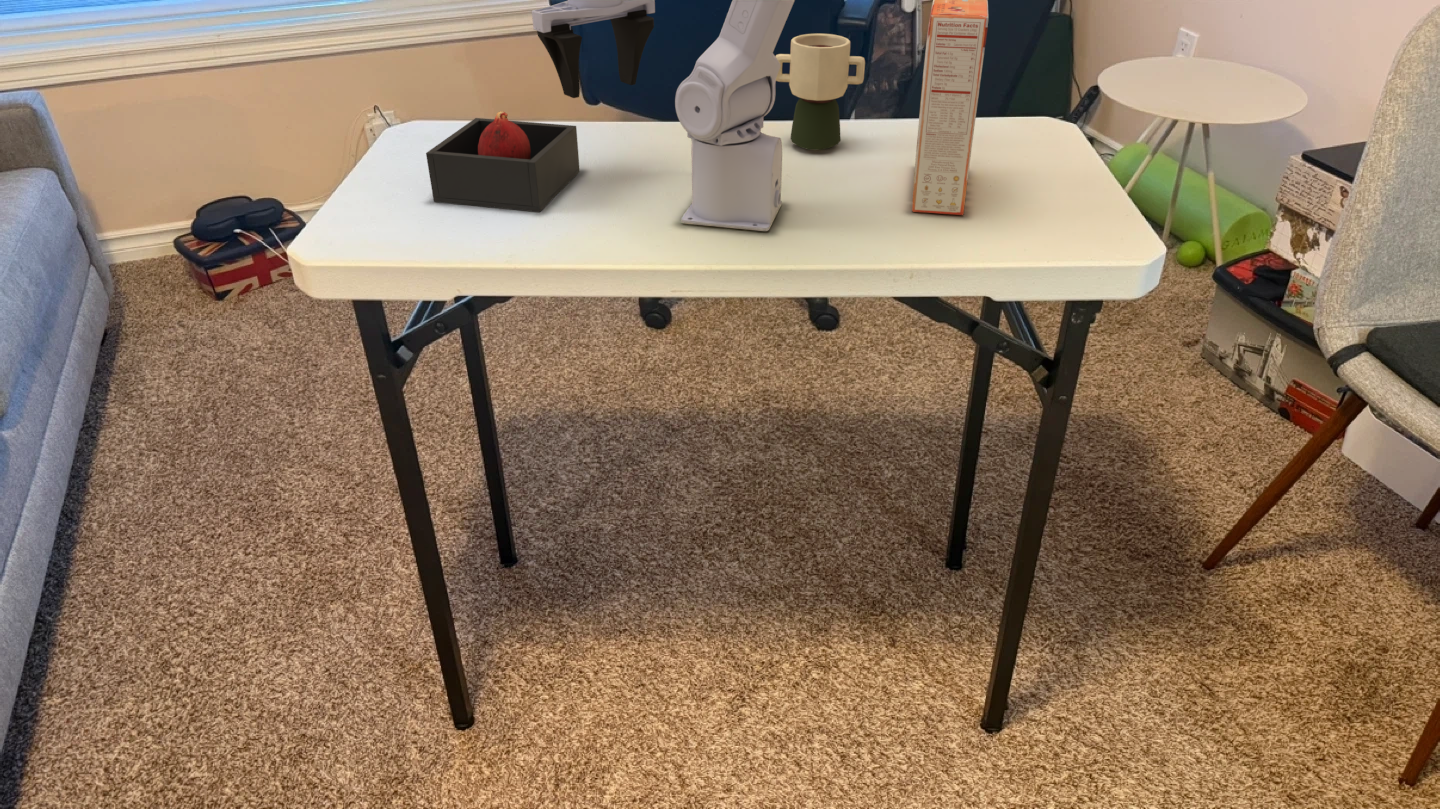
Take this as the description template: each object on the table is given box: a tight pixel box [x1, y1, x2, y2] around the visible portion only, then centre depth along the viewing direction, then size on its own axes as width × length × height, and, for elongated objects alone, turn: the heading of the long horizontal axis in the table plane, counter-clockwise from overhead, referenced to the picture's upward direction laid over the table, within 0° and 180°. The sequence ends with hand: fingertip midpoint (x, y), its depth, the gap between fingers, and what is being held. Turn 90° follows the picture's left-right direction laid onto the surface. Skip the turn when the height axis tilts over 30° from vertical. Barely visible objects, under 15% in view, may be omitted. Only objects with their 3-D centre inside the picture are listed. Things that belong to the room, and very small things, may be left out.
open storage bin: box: [425, 117, 581, 213], centre depth 115 cm, size 13×13×6 cm
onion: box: [478, 110, 531, 159], centre depth 114 cm, size 6×6×8 cm
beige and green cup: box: [775, 33, 866, 151], centre depth 125 cm, size 11×7×13 cm, turn 83°
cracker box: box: [911, 0, 989, 216], centre depth 110 cm, size 14×6×21 cm, turn 168°
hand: (600, 89), depth 113 cm, fingers open, 7 cm apart
